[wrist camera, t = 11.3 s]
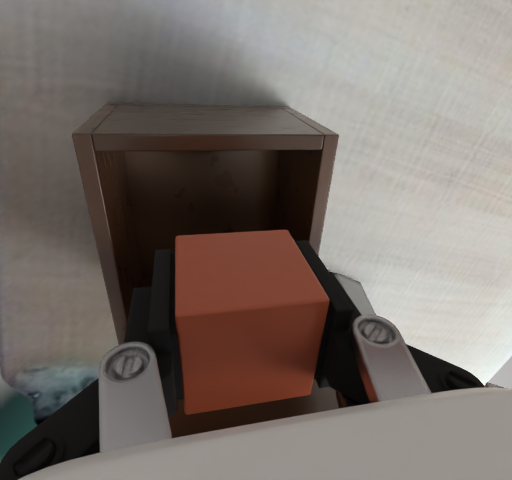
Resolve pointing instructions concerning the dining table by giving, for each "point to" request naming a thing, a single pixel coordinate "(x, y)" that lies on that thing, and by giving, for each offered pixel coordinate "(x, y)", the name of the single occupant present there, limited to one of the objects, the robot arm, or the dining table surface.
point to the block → (245, 319)
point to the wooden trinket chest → (196, 181)
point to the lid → (252, 412)
